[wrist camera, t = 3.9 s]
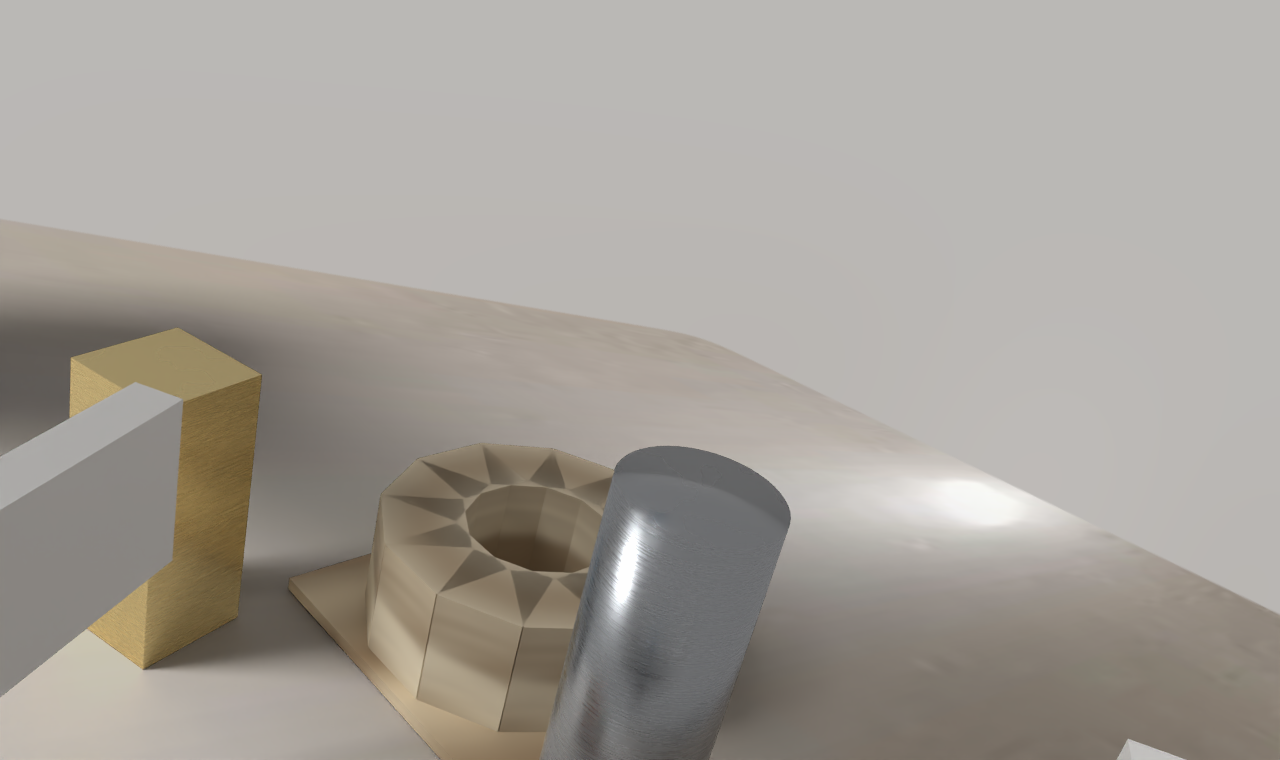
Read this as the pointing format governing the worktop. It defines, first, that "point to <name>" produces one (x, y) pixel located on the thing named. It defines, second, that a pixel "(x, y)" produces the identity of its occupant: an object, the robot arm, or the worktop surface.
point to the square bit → (184, 487)
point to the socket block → (469, 593)
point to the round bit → (666, 607)
